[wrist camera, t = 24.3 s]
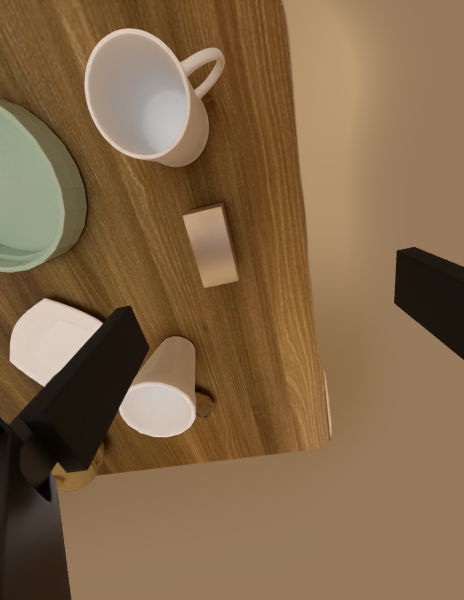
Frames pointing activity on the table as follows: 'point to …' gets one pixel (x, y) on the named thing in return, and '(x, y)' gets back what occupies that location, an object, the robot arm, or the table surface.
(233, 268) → the block
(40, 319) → the plate
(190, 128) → the mug
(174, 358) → the cup
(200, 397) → the ginger root
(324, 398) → the table surface
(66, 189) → the bowl
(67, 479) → the pot
